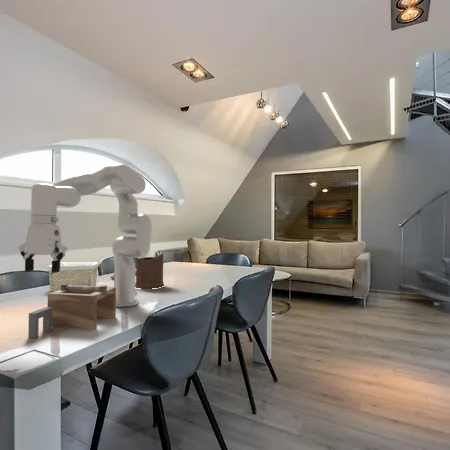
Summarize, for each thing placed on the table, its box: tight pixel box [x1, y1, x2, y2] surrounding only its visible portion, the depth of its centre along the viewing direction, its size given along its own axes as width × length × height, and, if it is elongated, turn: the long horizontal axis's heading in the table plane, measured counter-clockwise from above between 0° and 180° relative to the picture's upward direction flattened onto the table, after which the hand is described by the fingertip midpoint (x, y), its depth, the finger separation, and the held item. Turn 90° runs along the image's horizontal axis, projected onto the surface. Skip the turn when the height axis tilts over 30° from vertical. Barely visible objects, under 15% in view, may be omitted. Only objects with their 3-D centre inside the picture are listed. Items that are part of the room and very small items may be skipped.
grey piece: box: [27, 306, 53, 339], centre depth 106 cm, size 8×2×8 cm, turn 172°
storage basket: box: [47, 261, 99, 292], centre depth 180 cm, size 24×16×15 cm
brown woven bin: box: [135, 252, 165, 289], centre depth 189 cm, size 18×24×25 cm
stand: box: [47, 284, 117, 331], centre depth 120 cm, size 16×18×14 cm
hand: (42, 271), depth 105 cm, fingers open, 9 cm apart
